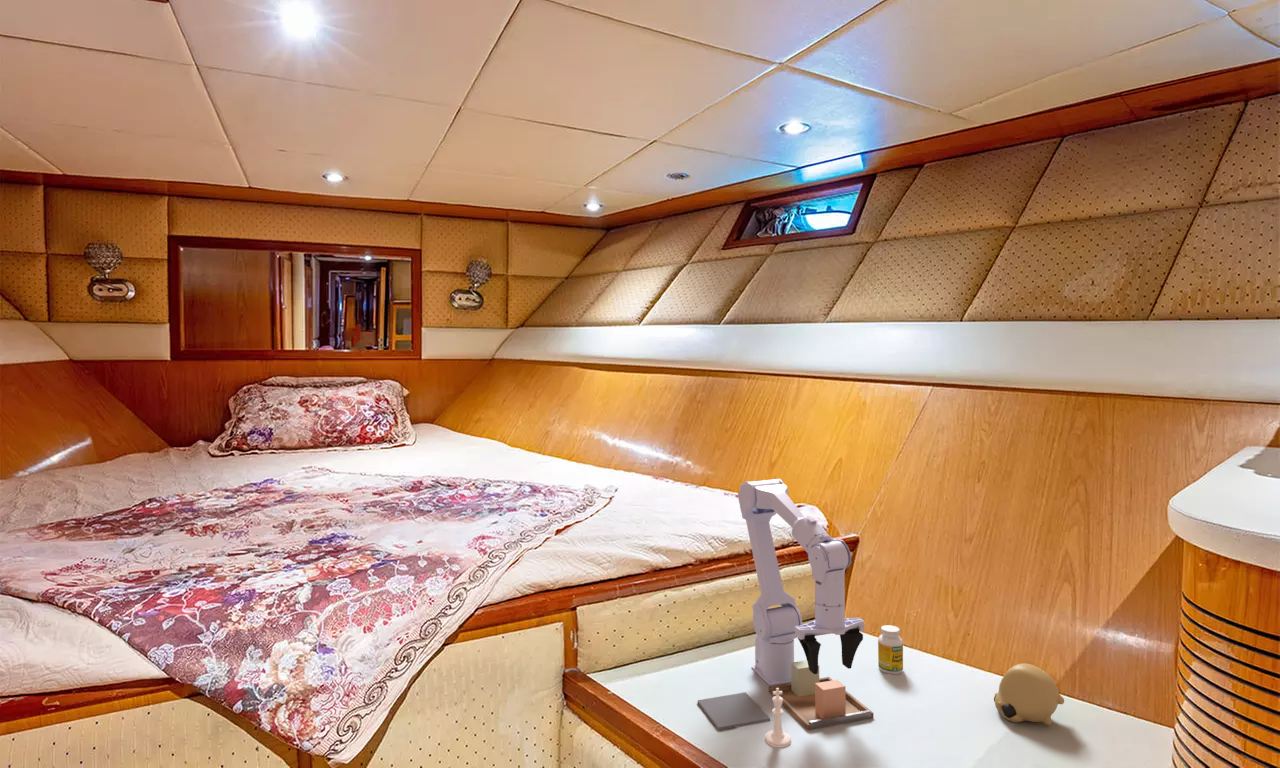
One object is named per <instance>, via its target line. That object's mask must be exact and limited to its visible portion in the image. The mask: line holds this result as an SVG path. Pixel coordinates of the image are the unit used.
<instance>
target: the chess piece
mask: <svg viewBox="0 0 1280 768" xmlns="http://www.w3.org/2000/svg"><path fill="white" fill-rule="evenodd" d="M779 694H782V691H779V688H776V691H773V695H776V696H773V695H772V698H771V700H772V701H771V702H772V703H773V708H772V710H771V713H772V714H774V723H773V729H772V730H769V731H768V732H766V733H765V735H764V741H765V743H767V744H768V745H769V746H771V747H775V748H786V747H789V745H791V744H792V737H791V735H790V734H789V733H788V732H786V731H784V730H783V726H782V724H783V723H782V717H781V715H783V714H784V709H783V708H782V706H783V705H782V702H783V698H782V697H780V696H779Z"/></svg>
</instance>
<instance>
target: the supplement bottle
mask: <svg viewBox="0 0 1280 768" xmlns="http://www.w3.org/2000/svg"><path fill="white" fill-rule="evenodd" d="M900 631H901V630H900V627H898V626H895V625H890V624H887V625H882V626H881V627H880V635H879V636H878V639H877V653H878V654H877V657H878V661H877V662H878V669H879V670H880V671H881V672H883V673H885V674H890V675H899V674H901V673H902V672H903V671H904V642H903V639H902V637H901V636H900V635H901V632H900Z"/></svg>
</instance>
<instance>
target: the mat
mask: <svg viewBox="0 0 1280 768" xmlns="http://www.w3.org/2000/svg"><path fill="white" fill-rule="evenodd" d="M697 704H698V706H699V707H700V708H701V710H702V711H703V712H704V714H705V715H706V716H707V718H708V719H709V720H710V721H711V722H712V725H714V727H715V728H716V729H717V731H725V730H730V729H734V728H736V727H737V728H738V727H742V726H746V725H747V726H748V725H753V724H758V723H764V722H769V721H771V717H769V715H768V714H766V712H765V711H764V710H763V709H762V708H761V707H760V706H759V705H758V704H757V703H756V701H755V700H754V699H753V697H751V696H750V695H749V694H748V693H747V692H746V691H745V692H739V693H738V692H737V693H734V694H733V693H732V694H728V695H721V696H715V697H709V698H704V699H698V700H697Z"/></svg>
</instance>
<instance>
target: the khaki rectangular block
mask: <svg viewBox="0 0 1280 768" xmlns="http://www.w3.org/2000/svg"><path fill="white" fill-rule="evenodd" d="M819 678H820V664H818V673H817V674H813V673H812V672H811V671H810V670H809V666H808V662H807V659H806V660H801V661H794V662H793V663H791V690H792V691H793V692H794V693H795V694H796V695H797V696H798V697H800V696H806V695H812V694H815V683H819Z"/></svg>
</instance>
